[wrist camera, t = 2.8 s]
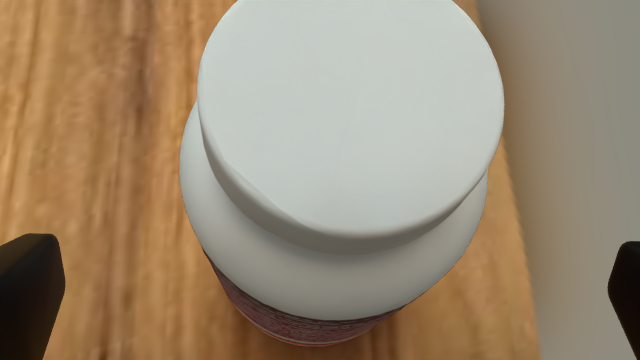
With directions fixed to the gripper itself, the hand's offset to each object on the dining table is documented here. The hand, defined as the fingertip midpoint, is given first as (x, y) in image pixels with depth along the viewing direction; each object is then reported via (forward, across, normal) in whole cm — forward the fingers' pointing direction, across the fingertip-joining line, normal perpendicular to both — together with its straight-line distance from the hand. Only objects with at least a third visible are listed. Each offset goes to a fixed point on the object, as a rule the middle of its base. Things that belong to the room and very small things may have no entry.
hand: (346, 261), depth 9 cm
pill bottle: (+8, 0, +5) cm, 10 cm away
